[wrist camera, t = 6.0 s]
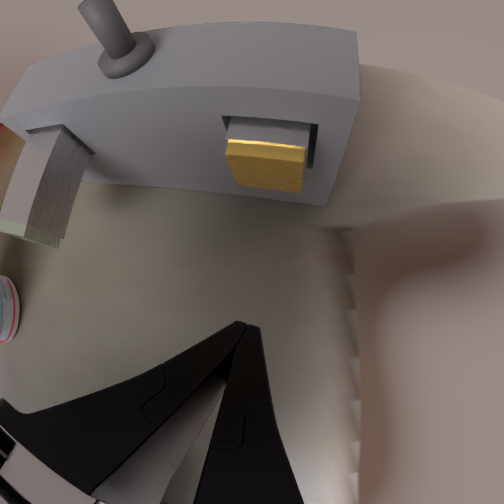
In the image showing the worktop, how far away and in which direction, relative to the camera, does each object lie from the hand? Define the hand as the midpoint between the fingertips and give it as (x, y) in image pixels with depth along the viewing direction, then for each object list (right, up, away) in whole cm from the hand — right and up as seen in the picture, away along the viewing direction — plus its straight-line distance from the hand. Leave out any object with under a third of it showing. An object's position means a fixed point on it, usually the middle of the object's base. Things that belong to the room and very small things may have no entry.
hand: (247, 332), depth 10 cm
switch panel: (-4, +9, +9) cm, 13 cm away
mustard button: (+2, +9, +4) cm, 10 cm away
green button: (-11, +7, +5) cm, 14 cm away
